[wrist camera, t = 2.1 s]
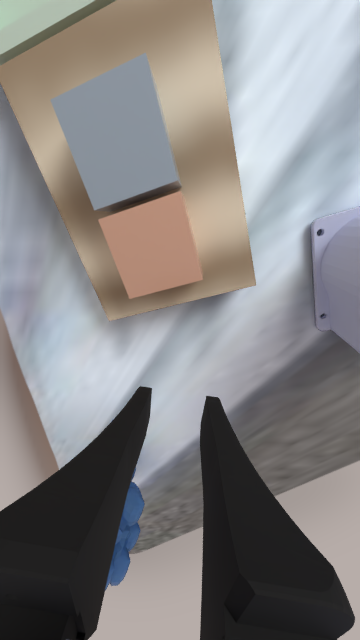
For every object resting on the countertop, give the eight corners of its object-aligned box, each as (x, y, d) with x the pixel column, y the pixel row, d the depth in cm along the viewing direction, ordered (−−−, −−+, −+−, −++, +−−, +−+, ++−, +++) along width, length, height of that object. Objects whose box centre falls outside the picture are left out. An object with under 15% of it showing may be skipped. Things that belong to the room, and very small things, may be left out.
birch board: (248, 275, 19) (256, 285, 16) (121, 308, 21) (109, 321, 18) (203, 9, 13) (203, -49, 10) (31, 96, 15) (-6, 69, 12)
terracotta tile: (202, 271, 16) (203, 279, 14) (139, 288, 17) (129, 298, 15) (183, 195, 14) (180, 190, 12) (113, 219, 15) (98, 219, 13)
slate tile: (181, 186, 14) (177, 180, 11) (110, 211, 15) (94, 210, 12) (156, 84, 12) (145, 52, 10) (76, 120, 13) (50, 99, 11)
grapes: (172, 478, 32) (156, 613, 21) (131, 484, 33) (97, 613, 22) (135, 422, 27) (92, 556, 17) (91, 433, 29) (25, 560, 18)
